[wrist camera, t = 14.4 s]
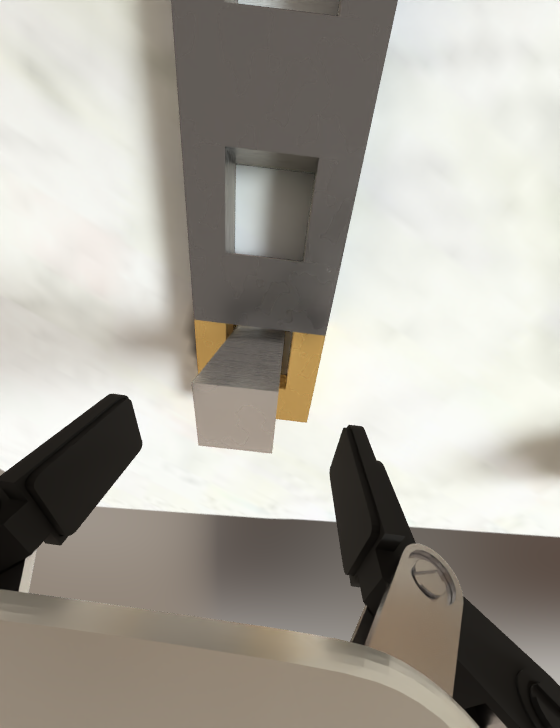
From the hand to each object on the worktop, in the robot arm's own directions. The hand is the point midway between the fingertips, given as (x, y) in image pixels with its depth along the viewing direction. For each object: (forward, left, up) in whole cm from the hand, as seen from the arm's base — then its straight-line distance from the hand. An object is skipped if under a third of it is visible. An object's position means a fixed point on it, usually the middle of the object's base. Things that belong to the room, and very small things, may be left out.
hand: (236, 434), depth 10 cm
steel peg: (0, 0, -11) cm, 11 cm away
